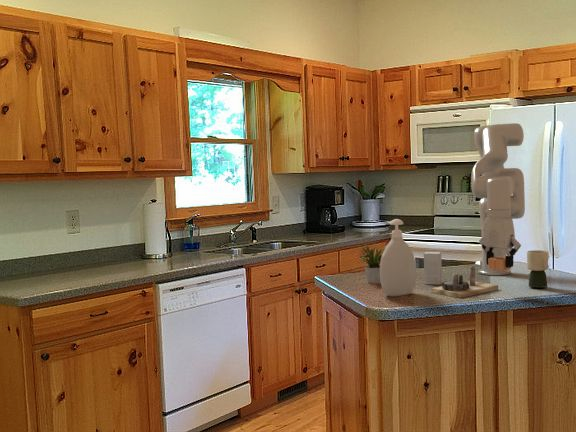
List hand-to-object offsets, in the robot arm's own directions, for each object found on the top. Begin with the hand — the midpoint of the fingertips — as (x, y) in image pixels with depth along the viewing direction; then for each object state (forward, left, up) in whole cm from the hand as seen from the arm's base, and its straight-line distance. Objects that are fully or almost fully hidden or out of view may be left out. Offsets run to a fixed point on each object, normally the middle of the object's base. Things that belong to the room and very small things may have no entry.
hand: (499, 265), depth 202 cm
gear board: (-12, -4, -10) cm, 16 cm away
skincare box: (-29, -2, -10) cm, 30 cm away
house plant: (-48, -17, -10) cm, 52 cm away
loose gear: (0, 0, -1) cm, 1 cm away
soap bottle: (-24, -25, -10) cm, 36 cm away
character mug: (+2, +18, -10) cm, 20 cm away
